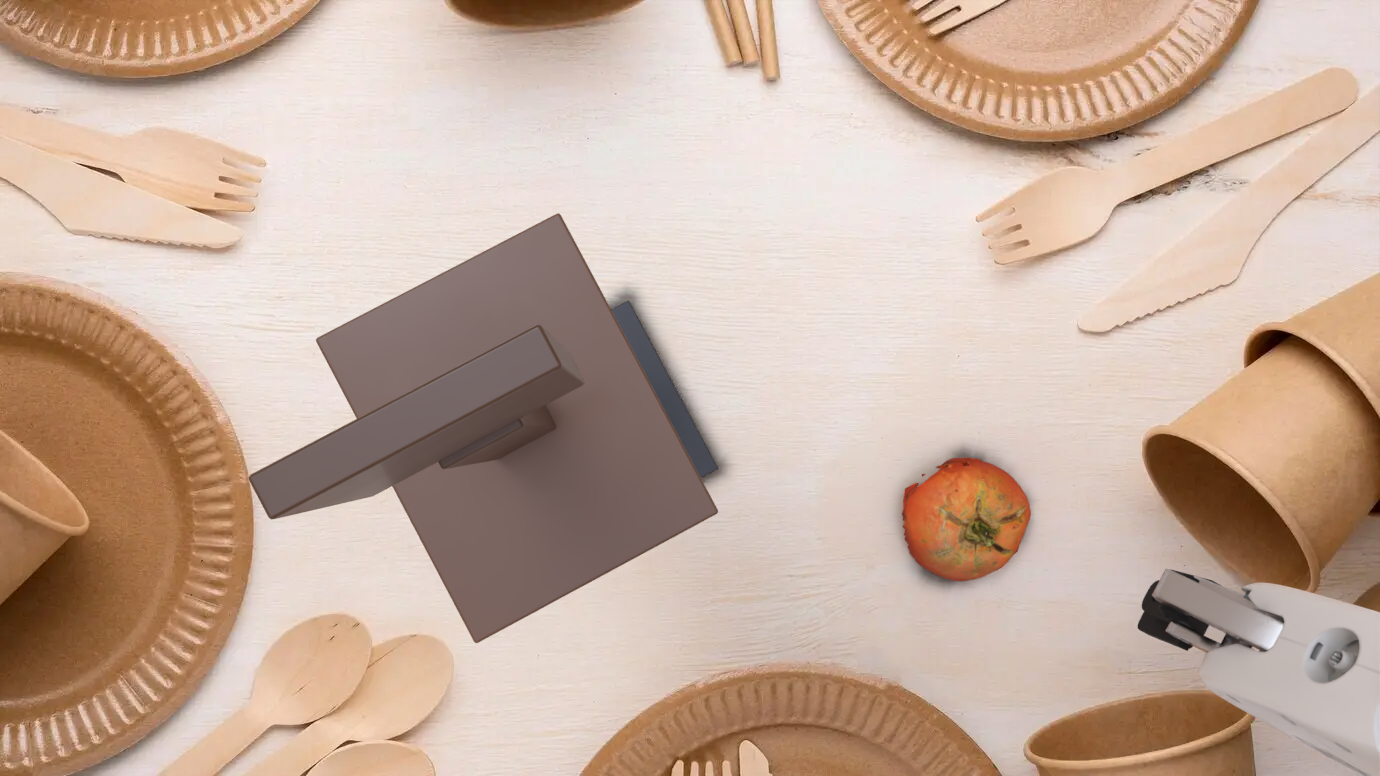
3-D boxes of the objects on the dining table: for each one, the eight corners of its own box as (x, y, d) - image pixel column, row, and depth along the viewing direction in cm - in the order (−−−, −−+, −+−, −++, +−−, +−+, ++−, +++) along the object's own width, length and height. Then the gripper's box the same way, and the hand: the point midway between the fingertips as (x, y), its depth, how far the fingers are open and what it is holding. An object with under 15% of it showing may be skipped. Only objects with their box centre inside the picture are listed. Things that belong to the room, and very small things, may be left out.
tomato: (880, 576, 65) (938, 511, 60) (876, 488, 70) (929, 421, 65) (995, 608, 67) (1061, 547, 62) (983, 520, 72) (1044, 457, 66)
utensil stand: (717, 468, 67) (915, 575, 17) (549, 558, 66) (237, 947, 16) (628, 301, 67) (564, -79, 17) (460, 390, 66) (-117, 262, 16)
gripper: (1245, 729, 32) (1032, 623, 49) (1743, 1009, 32) (1353, 803, 50) (1358, 510, 32) (1107, 482, 50) (1849, 788, 32) (1425, 662, 50)
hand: (1231, 643), depth 50 cm, fingers open, 7 cm apart
